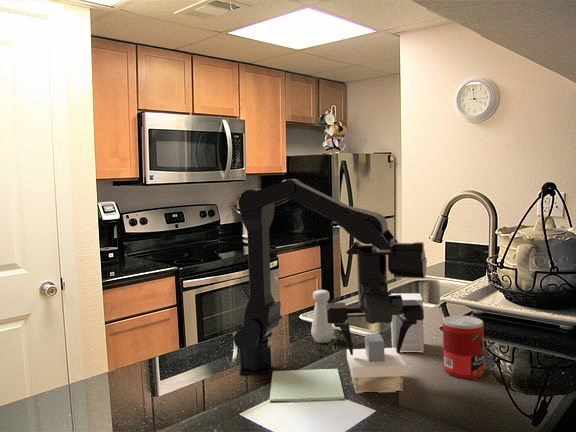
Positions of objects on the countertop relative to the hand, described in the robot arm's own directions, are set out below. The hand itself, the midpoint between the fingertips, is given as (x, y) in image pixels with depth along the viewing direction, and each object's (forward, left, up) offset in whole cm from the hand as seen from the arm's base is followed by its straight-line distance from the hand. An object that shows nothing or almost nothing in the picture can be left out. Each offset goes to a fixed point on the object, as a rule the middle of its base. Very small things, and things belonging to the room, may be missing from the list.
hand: (374, 353), depth 98 cm
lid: (0, 0, -3) cm, 3 cm away
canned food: (+19, +4, -6) cm, 20 cm away
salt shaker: (-9, +28, -6) cm, 30 cm away
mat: (-14, 0, -6) cm, 15 cm away
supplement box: (+11, +20, -6) cm, 24 cm away
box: (0, 0, -6) cm, 6 cm away
